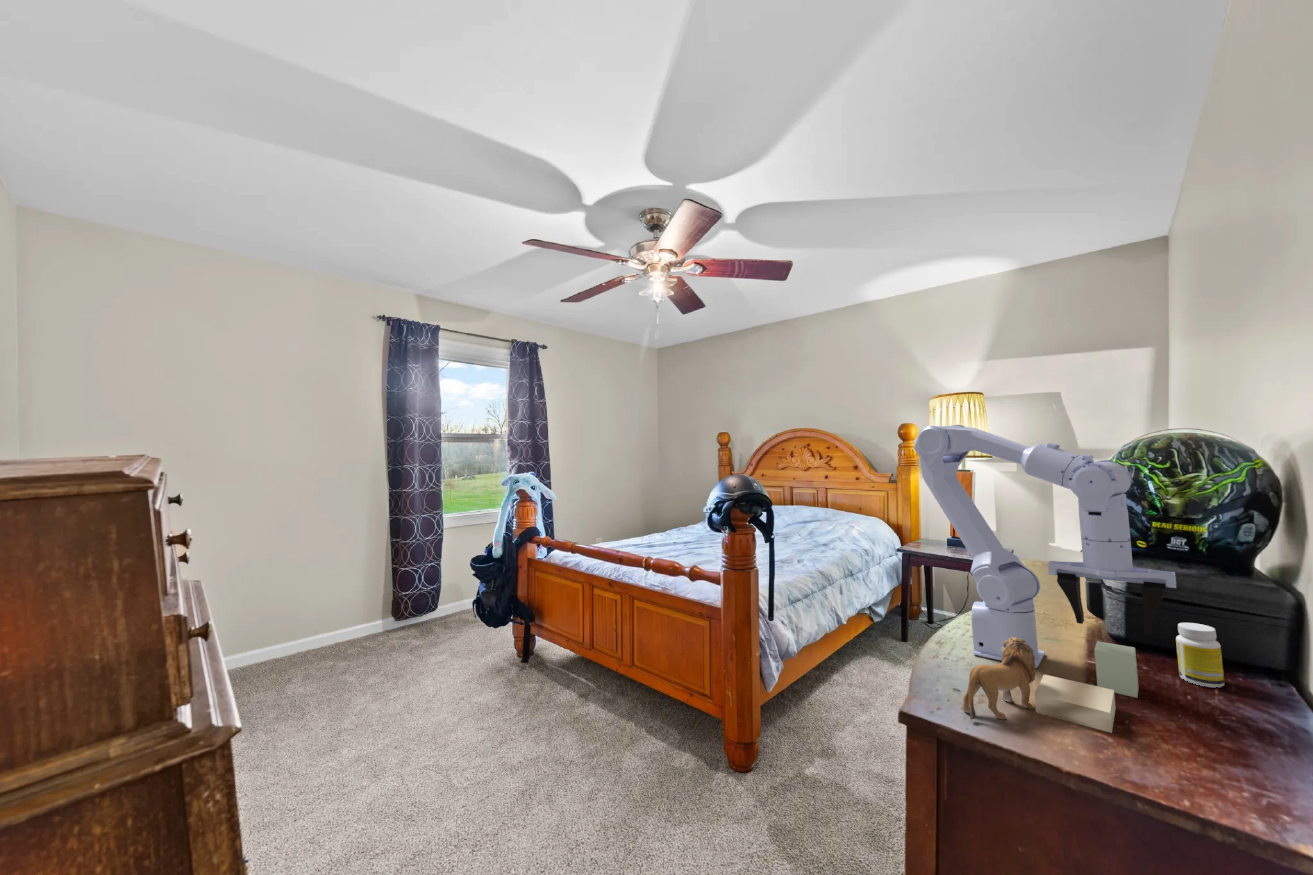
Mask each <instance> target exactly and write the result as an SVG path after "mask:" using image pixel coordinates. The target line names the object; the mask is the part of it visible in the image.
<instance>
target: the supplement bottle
mask: <svg viewBox="0 0 1313 875" xmlns="http://www.w3.org/2000/svg"><path fill="white" fill-rule="evenodd" d="M1177 631H1178V635H1176V637H1175V643H1176V646H1175V647H1176V655H1177V662H1178V663H1177V666H1178V667H1177V668H1178V675H1179V677H1180V678H1181V679H1182V680H1183V679H1184V680H1183V681H1185V682H1187V681H1188V682H1187V683H1190V684H1192V683H1193V685H1195V684H1196V685H1197V686H1199V685H1200V687H1204V686H1205V688H1215V689H1216V687H1218V688H1222V686H1223V687H1224V686H1225V676H1224V665H1223V663H1224V662H1223V654H1222V648H1221V647H1222V646H1221V644H1220V643H1219V641H1217V637H1218V636H1217V632H1216V631H1217V630H1216V628H1215V627H1213V626H1210V625H1208V624H1207V625H1205V624H1200V623H1195V622H1179V623H1177Z"/></svg>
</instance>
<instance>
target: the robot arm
mask: <svg viewBox="0 0 1313 875" xmlns="http://www.w3.org/2000/svg"><path fill="white" fill-rule="evenodd" d="M913 449H914V450H915V452H916V454H917V455H918V457H919V461H920V462H919V464H920V469H921V476H922V478H923V481H924V483H925V484H926V486H927V487H928V489H929V490H930V492H931V494H932V496H933V497H934V499H935V500H936V502H937V504H938V505H939V507H940V509H941V510H942V511H943V513H944V515H945V517H946V518H947V519H948V521H949V523H950V524H951V525H952V528H953V529H954V530H955V532H956V534H957V536H958V537H959V539H960V540H961V542H962V543H963V546H964V547H965V549H966V550H967V551H968V554H969V555H970V557H971V558H972V560H973V561H972V564H971V568H970V574H971V575H972V577H973V580H974V581H975V586H976V592H977V594H978V596H979V598H980V599H981V600H982V601H979V600H977V601H974V602H973V604H972V607H971V617H970V618H971V619H970V620H971V629H972V630H971V631H972V633H971V634H972V643H973V651H972V654H973V655H974V656H977V657H978V656H979V657H984V658H988V659H993V660H997V661H1001V662H1002V657H1003V655H1002V649H1001V648H1002V647H1004V645H1003V643H1004V642H1005V641H1006V640H1009V638H1011V637H1014V638H1020V639H1022V640H1024V641H1026V643H1027V644H1028V645H1029V646H1030V647H1031V648H1032V649H1033V654H1034V657H1035V660H1034V662H1035V665H1036V666H1035V669H1037V668H1038V667H1039V666H1040V664H1041V662H1042V660H1043V658H1044V656H1045V652H1046V651H1044V650H1041V649H1039V648H1038V633H1037V623H1036V622H1037V620H1036V612H1035V603H1034V602H1035V601H1034V598H1037V596H1038V595H1039V593H1040V590H1041V582H1040V579H1039V577H1038V576H1037V575H1036V573H1035V572H1033V570H1032V569H1030V568H1029V567H1027V566H1025V565H1024V564H1023V563H1022V561H1021V560H1020V557H1018V555H1015V554H1014V553H1012V552H1011V551H1008V550H1007V549H1005V548H1004V546H1003V545H1002V543H1001V542H1000V541H999V539H998V538H997V536H996V534H995V533H994V531H993V530H992V528H991V527H990V525H989V523H988V522H987V521H986V519H985V518H984V516H983V515H982V513H981V512H980V510H979V509H978V507H977V506H976V504H975V503H974V501H973V499H972V498H971V497H970V495H969V494H968V492H967V490H966V489H965V487H964V486H963V484H962V483H961V481H960V480H959V479H958V477H957V473H958V469H959V466H960V465H961V464H962V462H964V460H965V458H966V457H967V456H968V455H969V453H970V452H974V451H976V452H979V453H983V454H986V455H990V456H992V457H996V458H999V459H1002V460H1005V461H1009V462H1012V463H1016V464H1019V465H1021V467H1022V469H1023V471H1024V473H1025V474H1027V475H1029V476H1031V477H1034V478H1037V479H1040V480H1043V481H1045V482H1048V483H1051V484H1054V485H1056V486H1060V487H1063V488H1065V489H1068V490H1069V489H1070V491H1071V492H1072V493H1073V494H1074V495H1075V496H1076V498H1077V501H1078V503H1077V504H1078V517H1079V528H1080V530H1079V531H1080V538H1081V539H1080V540H1081V551H1082V552H1081V554H1082V561H1061V560H1060V561H1056V560H1049V561H1048V562H1047V570H1048V575H1051V576H1057V578H1056V582H1057V584H1058V586H1059V587H1060V589H1061V590H1062V591H1063V593H1064V595H1065V596H1066V598H1067V600H1068V602H1069V605H1070V606H1071V609H1072V611H1073V613H1074V616H1075V621H1076V623H1077V624H1081V625H1083V624H1084V621H1085V618H1084V617H1085V614H1084V609H1083V603H1082V595H1081V594H1082V593H1081V578H1088V579H1097V580H1105V581H1106V580H1107V581H1114V582H1115V581H1117V582H1124V583H1133V584H1134V583H1135V584H1141V595H1142V596H1141V598H1142V604H1143V606H1142V607H1143V632H1144V635H1151V636H1152V626H1153V621H1154V617H1155V614H1156V613H1157V609H1159V606H1160V604H1161V602H1162V601H1163V599H1164V597H1165V595H1166V593H1167V588H1172V589H1177V579H1176V578H1177V577H1176V571H1168V570H1158V569H1152V568H1145V567H1140V566H1139V567H1138V566H1137V567H1136V566H1134V564H1133V556H1132V555H1133V554H1132V542H1131V532H1130V521H1129V520H1130V519H1129V510H1128V506H1127V505H1128V503H1127V494H1126V492H1128V490H1129V489H1130V488H1131V485H1132V476H1131V474H1130V472H1129V470H1128V469H1127V468H1126V467H1124V466H1123V465H1121V464H1119V463H1117V462H1115V461H1114V460H1111V459H1109V460H1108V459H1103V460H1102V459H1101V460H1097V461H1095V460H1094V459H1093V458H1094V456H1093V455H1090V454H1088V453H1084V454H1078V453H1074V452H1071V451H1068V450H1065V449H1061V448H1060V444H1058V443H1055V442H1047V443H1046V444H1044V443H1039V444H1035V445H1033V446H1031V447H1029V446H1027V445H1025V444H1021V443H1018V442H1016V441H1013V440H1010V439H1007V438H1005V437H1002V436H998V435H996V434H993V433H990V432H987V431H985V430H983V429H979V428H975V427H971V426H968V427H967V426H965V425H962V424H953V425H940V426H939V425H928V426H924V428H922V429H921V430H920V431H919V432H918V434H917V437H916V439H915V442H914V446H913Z"/></svg>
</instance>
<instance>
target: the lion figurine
mask: <svg viewBox="0 0 1313 875" xmlns="http://www.w3.org/2000/svg"><path fill="white" fill-rule="evenodd" d="M1003 645H1004V647H1002V648H1001V649H1002V655H1003V657H1002V661H1001V662H999V663H998V664H994V665H990V664H989V665H988V664H978V665H976V666H974V667H972V668H971V670H970V672H969V676H968V687H967V690H966V692H965V694H964V695H963V700H962V702H963V705H962V706H963V707H962V708H963V712H964V713H967V714H969V719H970V720H971V721H972V720H975V718H976V710H975V706H974V705H975V704H974V697H975V695H976V693H977V692H978V691H979V690H980V689H981V688H982V690H983V692H984V693H985V696H986V698H987V700H988V704H987V705H988V709H989V710H990V711H991V712H992V713H993V715H994V716H995V717H996V718H997V719H999V720H1006V719H1007V716H1006V714H1005V713H1004V712H1000V711H999V710H998V707H997V703H998V699H999V698H998V697H999V691H1001V692H1002V700H1003V701H1004V702H1006V701H1007V703H1011V701H1012V702H1013V697H1012V694H1011V693H1012V692H1011V691H1012V690H1014V689H1016V688H1019V690H1020V693H1021V705H1022V706H1023V707H1024V708H1025V709H1028V708H1029V710H1033V709H1034V706H1033V704H1032V703H1031V702H1030V694H1031V686H1030V684H1031V683H1032V682H1034V680H1035V679H1036V669H1037V668H1035V666H1036V665H1035V662H1034V660H1035V657H1034V654H1033V649H1032V648H1031V647H1030V646H1029V645H1028V644H1027V643H1026V641H1024V640H1022V639H1020V638H1014V637H1011V638H1009V640H1006V641H1005V642H1004V643H1003Z"/></svg>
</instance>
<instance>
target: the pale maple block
mask: <svg viewBox="0 0 1313 875" xmlns="http://www.w3.org/2000/svg"><path fill="white" fill-rule="evenodd" d="M1115 696H1116V695H1115V693H1114V690H1112V689H1107V688H1103V687H1098V686H1097V685H1093V684H1089V683H1084V682H1079V681H1075V680H1071V679H1065V678H1063V677H1062V678H1060V677H1057V676H1053V675H1048V674H1043V676H1042V678H1041V679H1040V681H1039V684H1038V686H1037V688H1036V690H1035V693H1034V702H1035V704H1034V706H1035V713H1036V712H1037V713H1036V714H1039V713H1041V714H1040V715H1043V716H1046V715H1048V716H1047V717H1050V718H1054V719H1057V720H1058V719H1059V720H1061V719H1062V721H1065V722H1070V723H1073V724H1075V725H1076V724H1077V725H1080V726H1084V727H1088V728H1091V729H1095V730H1099V731H1103V732H1107V733H1110V734H1113V728H1114V723H1115V717H1116V716H1115V714H1116V709H1117V708H1116V697H1115Z"/></svg>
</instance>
